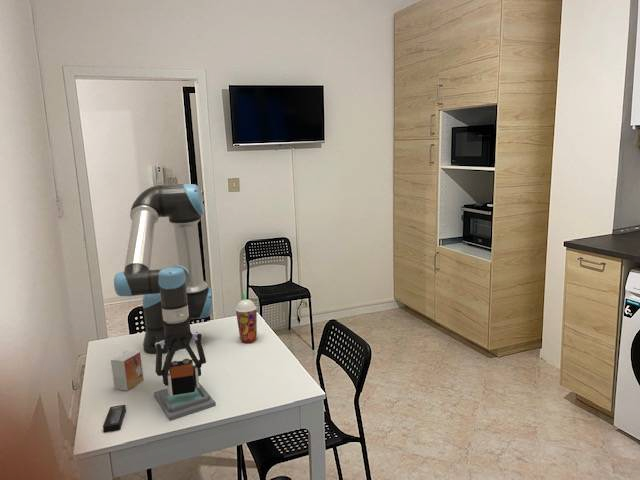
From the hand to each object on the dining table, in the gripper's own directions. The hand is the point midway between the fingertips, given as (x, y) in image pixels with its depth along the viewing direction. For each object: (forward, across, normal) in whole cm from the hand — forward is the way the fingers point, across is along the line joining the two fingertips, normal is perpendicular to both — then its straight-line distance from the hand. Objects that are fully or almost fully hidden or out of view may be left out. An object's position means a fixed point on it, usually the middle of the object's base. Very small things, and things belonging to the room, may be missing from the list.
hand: (183, 390), depth 147 cm
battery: (+1, 0, 0) cm, 1 cm away
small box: (+4, -12, +23) cm, 26 cm away
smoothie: (+4, +36, +33) cm, 49 cm away
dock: (+4, 0, +1) cm, 4 cm away
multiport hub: (+5, -20, +2) cm, 20 cm away
